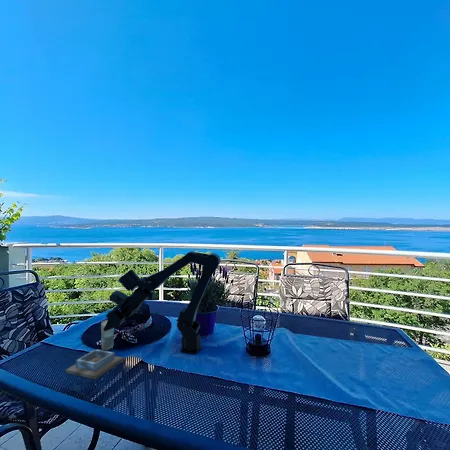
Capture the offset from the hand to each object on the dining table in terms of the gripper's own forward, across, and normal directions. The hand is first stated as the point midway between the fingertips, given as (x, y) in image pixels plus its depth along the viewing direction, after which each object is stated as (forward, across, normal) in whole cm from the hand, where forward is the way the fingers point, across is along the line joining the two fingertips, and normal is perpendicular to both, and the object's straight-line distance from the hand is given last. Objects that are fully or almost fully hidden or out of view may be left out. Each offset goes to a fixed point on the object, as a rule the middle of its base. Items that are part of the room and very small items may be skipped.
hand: (110, 326), depth 110 cm
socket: (+5, +14, +8) cm, 17 cm away
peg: (+7, 0, +5) cm, 9 cm away
